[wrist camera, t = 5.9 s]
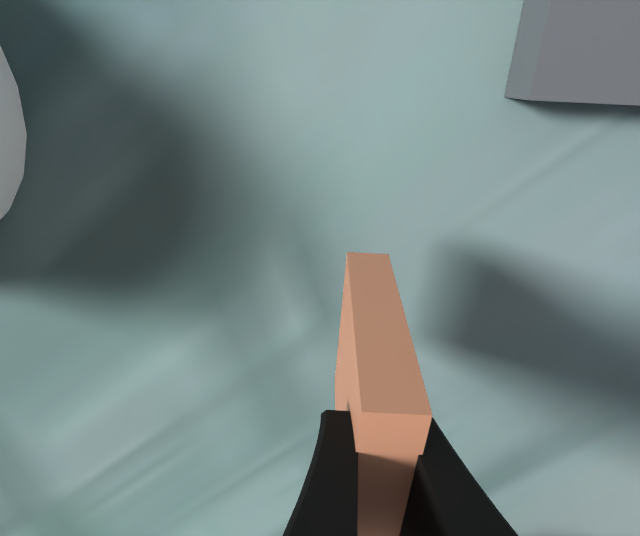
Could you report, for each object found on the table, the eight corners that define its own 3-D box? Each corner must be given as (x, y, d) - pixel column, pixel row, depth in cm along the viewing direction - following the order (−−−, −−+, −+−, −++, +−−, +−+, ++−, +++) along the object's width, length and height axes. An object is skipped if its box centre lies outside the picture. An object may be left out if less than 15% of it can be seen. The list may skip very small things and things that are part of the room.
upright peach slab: (388, 254, 13) (432, 415, 7) (369, 382, 15) (392, 573, 10) (347, 252, 13) (361, 411, 7) (334, 381, 15) (338, 571, 10)
